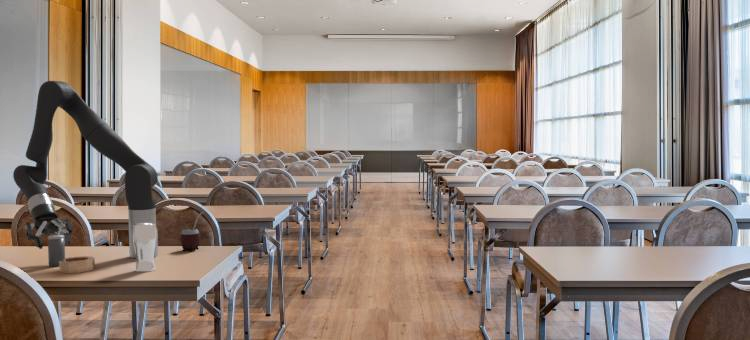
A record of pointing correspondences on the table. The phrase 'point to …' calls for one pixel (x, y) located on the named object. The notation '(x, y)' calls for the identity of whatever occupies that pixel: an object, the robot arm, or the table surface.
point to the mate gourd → (190, 238)
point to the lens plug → (56, 249)
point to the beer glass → (144, 246)
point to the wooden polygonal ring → (76, 264)
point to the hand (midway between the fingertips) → (55, 245)
